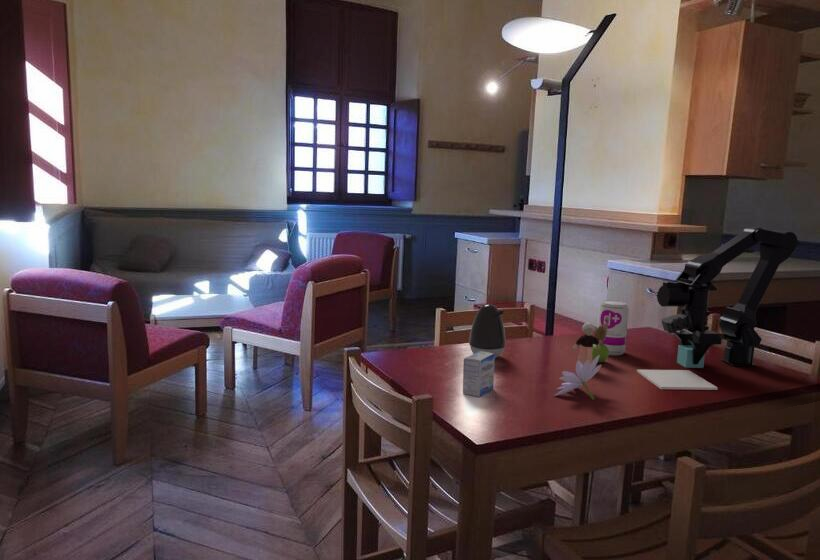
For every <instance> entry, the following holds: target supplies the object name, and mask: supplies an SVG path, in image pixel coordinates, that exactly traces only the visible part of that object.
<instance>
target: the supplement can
mask: <svg viewBox="0 0 820 560" xmlns="http://www.w3.org/2000/svg"><path fill="white" fill-rule="evenodd" d="M629 311H630V308H629V307H628V303H627V302H626V301H625V302H624V301H619V300H609V299H608V300H603V301H601V303H600V305H599V306H598V314H597V315H598V316H597V327H598V326H603V324H604V323H605V318H608V319H609V320H606V322H607V323H608V327H607V334H606V337H605V340H604V341H603V343H602V344H604V345H606V346H607V348H608V350H609V356H615V357H616V356H622V355H623V354H625V352H626V346H627V345H626V344H627V337H628V335H627V334H628V323H629Z"/></svg>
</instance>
